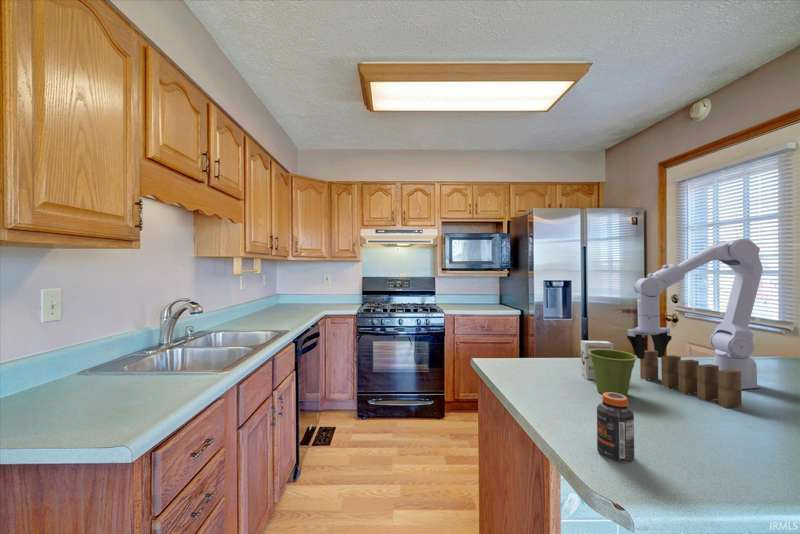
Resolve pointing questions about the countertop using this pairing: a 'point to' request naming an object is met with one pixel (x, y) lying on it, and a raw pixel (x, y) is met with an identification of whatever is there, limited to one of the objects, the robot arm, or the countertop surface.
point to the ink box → (586, 361)
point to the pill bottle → (615, 428)
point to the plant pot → (612, 370)
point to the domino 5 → (729, 388)
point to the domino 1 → (649, 365)
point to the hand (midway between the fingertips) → (649, 357)
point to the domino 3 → (687, 376)
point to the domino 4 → (707, 382)
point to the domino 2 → (670, 370)
